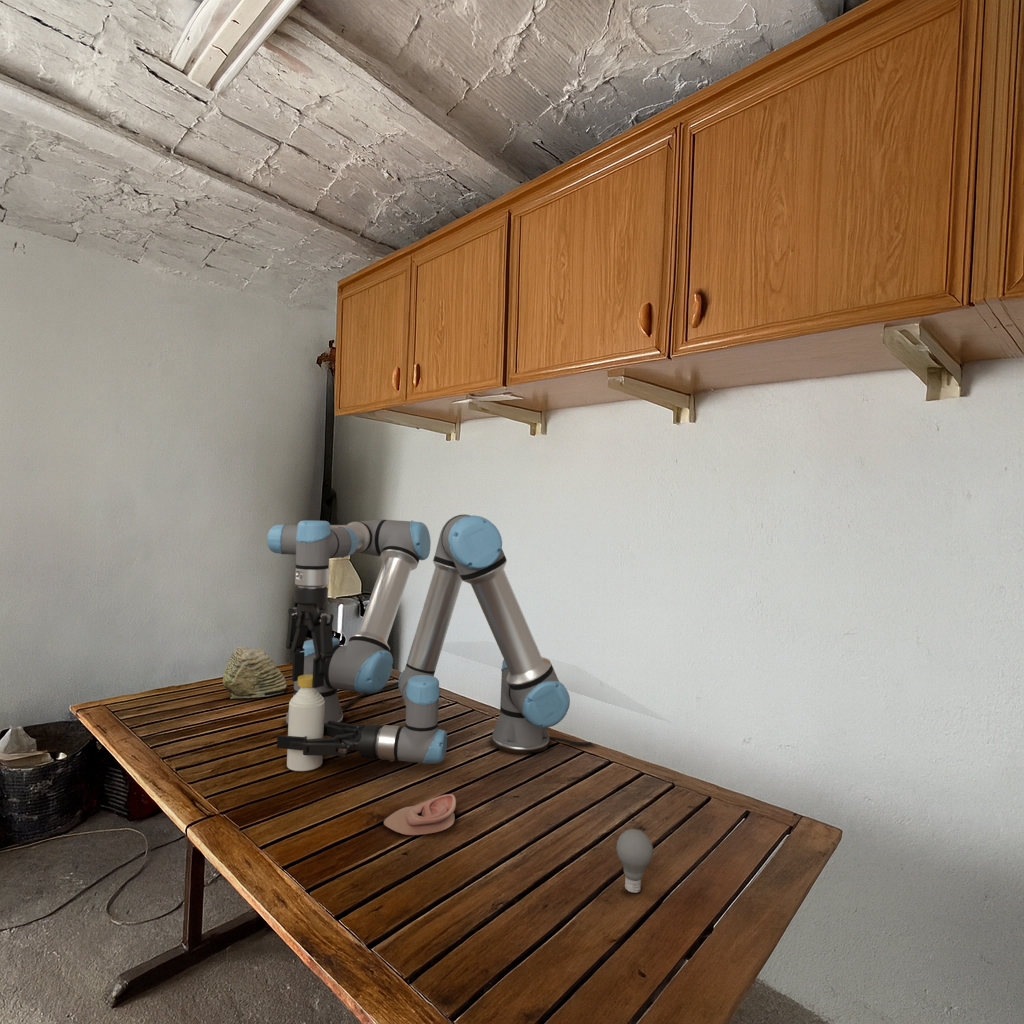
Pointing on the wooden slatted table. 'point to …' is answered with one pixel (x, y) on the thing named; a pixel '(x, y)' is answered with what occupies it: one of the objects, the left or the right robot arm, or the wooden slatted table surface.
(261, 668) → the fossil
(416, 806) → the anatomical model
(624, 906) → the wooden slatted table surface
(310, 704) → the bottle
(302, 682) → the cap
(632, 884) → the light bulb
